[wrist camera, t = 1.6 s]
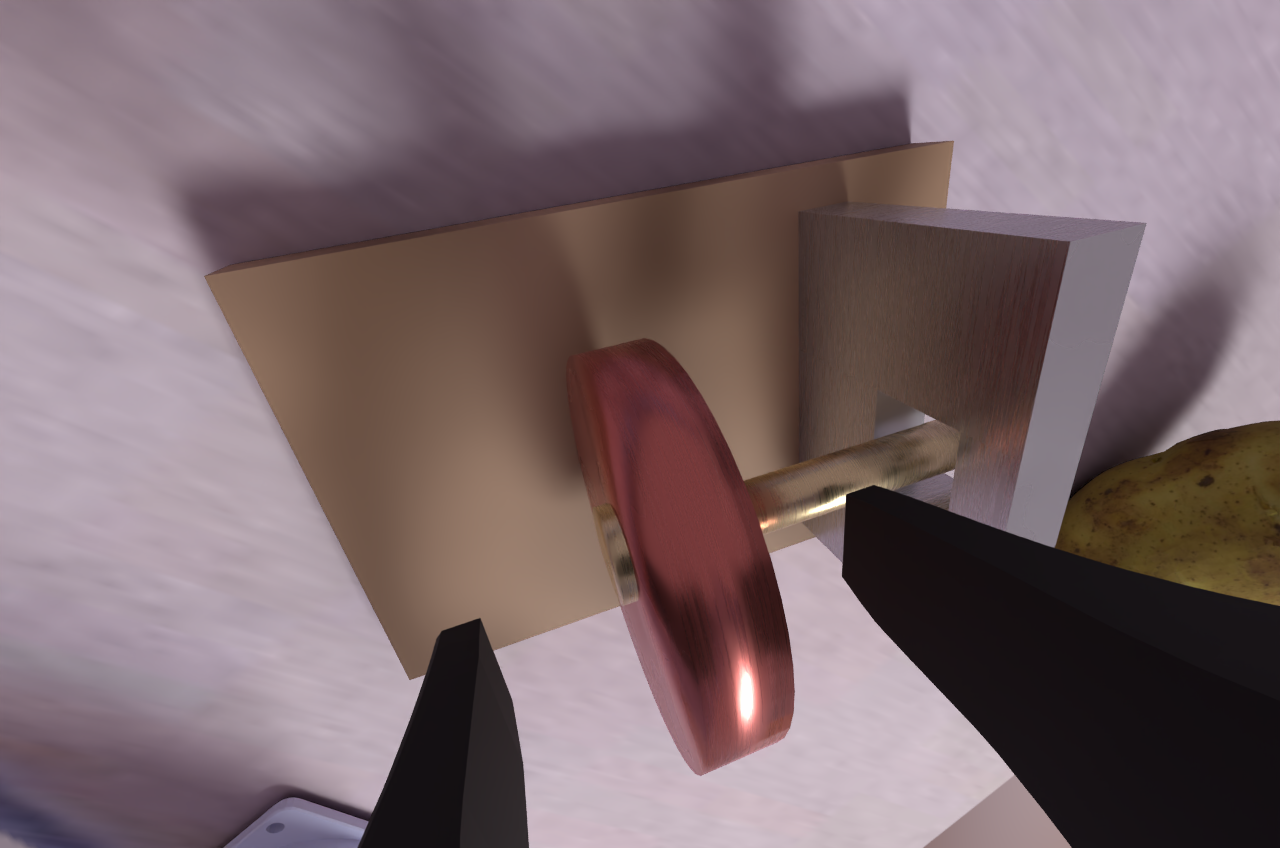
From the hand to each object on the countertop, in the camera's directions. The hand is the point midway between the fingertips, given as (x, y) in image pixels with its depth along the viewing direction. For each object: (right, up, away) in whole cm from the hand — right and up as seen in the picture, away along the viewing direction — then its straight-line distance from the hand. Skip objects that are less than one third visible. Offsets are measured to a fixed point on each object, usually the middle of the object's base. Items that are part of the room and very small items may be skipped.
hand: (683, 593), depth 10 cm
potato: (+22, 0, +17) cm, 28 cm away
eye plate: (+5, +4, +7) cm, 9 cm away
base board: (-1, +4, +7) cm, 8 cm away
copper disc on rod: (+2, +3, +6) cm, 7 cm away
